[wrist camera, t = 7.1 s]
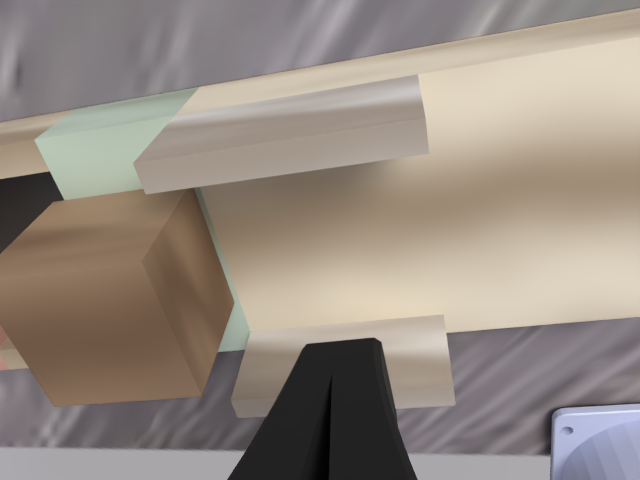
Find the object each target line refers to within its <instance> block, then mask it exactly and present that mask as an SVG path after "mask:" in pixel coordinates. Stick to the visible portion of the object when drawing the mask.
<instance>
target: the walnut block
mask: <svg viewBox="0 0 640 480" xmlns="http://www.w3.org/2000/svg"><path fill="white" fill-rule="evenodd" d="M234 303H235V302H234V299H233V296H232V293H231V291H230V288H229V285H228V282H227V279H226V277H225V274H224V271H223V268H222V265H221V263H220V260H219V257H218V254H217V251H216V249H215V246H214V243H213V240H212V237H211V235H210V232H209V229H208V226H207V223H206V221H205V218H204V215H203V212H202V209H201V207H200V204H199V201H198V198H197V195H196V193H195V190H194V188H187V189H180V190H173V191H166V192H159V193H152V194H145V192H144V189H139V190H132V191H125V192H119V193H112V194H105V195H98V196H91V197H84V198H77V199H70V200H63V201H56V202H53V203H52V204H51V205H50V206H49V207H48V208H47V209H46V210H45V211H44V212H43V213H42V214H41V215H40V216H39V217H37V218H36V219H35V220H34V221H33V222H32V223H31V224H30V225H29V226H28V227H27V228H26V229H25V230H24V231H23V232H22V233H21V234H20V235H19V236H18V237H17V238H16V239H15V240H14V241H13V242H12V243H11V244H10V245H9V246H8V247H7V248H6V249H5V250H4V251H3V252H2V253H1V254H0V325H1V326H2V328H3V329H4V331H5V332H6V334H7V335H8V337H9V339H10V340H11V342H12V343H13V345H14V346H15V348H16V349H17V351H18V352H19V354H20V355H21V357H22V358H23V360H24V361H25V363H26V364H27V366H28V367H29V369H30V370H31V372H32V373H33V375H34V377H35V378H36V380H37V381H38V383H39V384H40V386H41V387H42V389H43V390H44V392H45V393H46V395H47V396H48V398H49V399H50V401H51V402H52V404H53V405H54V407H57V406H71V405H86V404H101V403H115V402H130V401H145V400H159V399H174V398H189V397H202V395H203V392H204V389H205V387H206V384H207V381H208V378H209V375H210V372H211V369H212V366H213V364H214V361H215V358H216V355H217V352H218V349H219V346H220V343H221V341H222V338H223V335H224V332H225V329H226V326H227V323H228V321H229V318H230V315H231V312H232V309H233V306H234Z"/></svg>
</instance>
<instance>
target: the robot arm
mask: <svg viewBox="0 0 640 480" xmlns="http://www.w3.org/2000/svg"><path fill="white" fill-rule="evenodd" d="M550 469H551V470H550V480H640V404H624V405H606V406H589V407H571V408H561V409H559V410H556V411H555V412H554V413H553V415H552V433H551V468H550ZM227 480H417V477H416V475H415V472H414V470H413V468H412V465H411V462H410V460H409V457H408V454H407V452H406V449H405V447H404V444H403V441H402V438H401V435H400V432H399V429H398V425H397V414H396V408H395V403H394V399H393V394H392V389H391V384H390V380H389V375H388V370H387V366H386V361H385V356H384V351H383V347H382V342H381V341H379V340H378V339H376V338H374V337H373V338H362V339H352V340H341V341H331V342H320V343H310V344H306V345H305V346H304V348H303V349H302V350H301V353H300V355H299V357H298V359H297V361H296V363H295V365H294V367H293V369H292V371H291V372H290V374H289V376H288V378H287V380H286V382H285V384H284V386H283V388H282V390H281V391H280V393H279V395H278V397H277V399H276V401H275V402H274V404H273V406H272V408H271V410H270V411H269V413H268V415H267V416H266V418H265V420H264V421H263V423H262V425H261V427H260V428H259V430H258V432H257V433H256V435H255V437H254V439H253V440H252V442H251V444H250V445H249V447H248V448H247V450H246V452H245V453H244V455H243V456H242V458H241V460H240V461H239V463H238V464H237V466H236V467H235V469H234V470H233V472H232V473H231V475H230V476H229V478H228V479H227Z"/></svg>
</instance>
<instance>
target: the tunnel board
mask: <svg viewBox="0 0 640 480" xmlns="http://www.w3.org/2000/svg"><path fill="white" fill-rule="evenodd" d="M187 188H194V190H195V193H196V195H197V198H198V201H199V204H200V207H201V209H202V212H203V215H204V218H205V221H206V223H207V226H208V229H209V232H210V235H211V237H212V240H213V243H214V246H215V249H216V251H217V254H218V257H219V260H220V263H221V265H222V268H223V271H224V274H225V277H226V279H227V282H228V285H229V288H230V291H231V293H232V296H233V299H234V302H235V303H234V306H233V309H232V312H231V315H230V318H229V321H228V323H227V326H226V329H225V332H224V335H223V338H222V341H221V343H220V346H219V349H218V352H225V351H237V350H245V352H244V355H243V359H242V362H241V366H240V369H239V373H238V376H237V380H236V383H235V386H234V390H233V393H232V397H231V400H230V401H231V403H232V406H233V408H234V410H235V413H236V415H237V418H252V417H266V416H267V415H268V413H269V411H270V410H271V408H272V406H273V404H274V402H275V401H276V399H277V397H278V395H279V393H280V391H281V390H282V388H283V386H284V384H285V382H286V380H287V378H288V376H289V374H290V372H291V371H292V369H293V367H294V365H295V363H296V361H297V359H298V357H299V355H300V353H301V350H302V349H303V348H304V346H305V345H306V344H310V343H320V342H331V341H341V340H352V339H362V338H373V337H374V338H376V339H378V340H379V341H381V342H382V347H383V351H384V356H385V361H386V366H387V370H388V375H389V380H390V384H391V389H392V394H393V399H394V403H395V408H396V409H402V408H418V407H435V406H452V405H455V395H454V386H453V379H452V371H451V364H450V357H449V350H448V343H447V336H446V333H451V332H463V331H475V330H487V329H499V328H511V327H523V326H535V325H547V324H558V323H570V322H582V321H594V320H606V319H618V318H630V317H640V8H638V9H633V10H627V11H622V12H616V13H610V14H605V15H599V16H594V17H588V18H582V19H577V20H571V21H566V22H560V23H554V24H549V25H543V26H538V27H532V28H527V29H521V30H515V31H510V32H504V33H499V34H493V35H487V36H482V37H476V38H471V39H465V40H459V41H454V42H448V43H443V44H437V45H431V46H426V47H420V48H415V49H409V50H404V51H398V52H392V53H387V54H381V55H376V56H370V57H364V58H359V59H353V60H348V61H342V62H336V63H331V64H325V65H320V66H314V67H308V68H303V69H297V70H292V71H286V72H280V73H275V74H269V75H264V76H258V77H253V78H247V79H241V80H236V81H230V82H225V83H219V84H213V85H208V86H202V87H197V88H191V89H185V90H180V91H174V92H169V93H163V94H157V95H152V96H146V97H141V98H135V99H130V100H124V101H118V102H113V103H107V104H102V105H96V106H90V107H85V108H79V109H74V110H68V111H62V112H57V113H51V114H46V115H40V116H34V117H29V118H23V119H18V120H12V121H6V122H1V123H0V254H1V253H2V252H3V251H4V250H5V249H6V248H7V247H8V246H9V245H10V244H11V243H12V242H13V241H14V240H15V239H16V238H17V237H18V236H19V235H20V234H21V233H22V232H23V231H24V230H25V229H26V228H27V227H28V226H29V225H30V224H31V223H32V222H33V221H34V220H35V219H36V218H37V217H39V216H40V215H41V214H42V213H43V212H44V211H45V210H46V209H47V208H48V207H49V206H50V205H51V204H52V203H53V202H56V201H63V200H70V199H77V198H84V197H91V196H98V195H105V194H112V193H119V192H125V191H132V190H139V189H144V192H145V194H152V193H159V192H166V191H173V190H180V189H187ZM22 368H29V367H28V366H27V364H26V363H25V361H24V360H23V358H22V357H21V355H20V354H19V352H18V351H17V349H16V348H15V346H14V345H13V343H12V342H11V340H10V339H9V337H8V335H7V334H6V332H5V331H4V329H3V328H2V326H1V325H0V370H10V369H22Z"/></svg>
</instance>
